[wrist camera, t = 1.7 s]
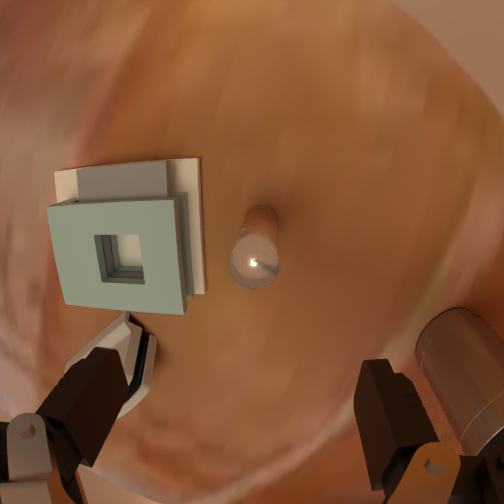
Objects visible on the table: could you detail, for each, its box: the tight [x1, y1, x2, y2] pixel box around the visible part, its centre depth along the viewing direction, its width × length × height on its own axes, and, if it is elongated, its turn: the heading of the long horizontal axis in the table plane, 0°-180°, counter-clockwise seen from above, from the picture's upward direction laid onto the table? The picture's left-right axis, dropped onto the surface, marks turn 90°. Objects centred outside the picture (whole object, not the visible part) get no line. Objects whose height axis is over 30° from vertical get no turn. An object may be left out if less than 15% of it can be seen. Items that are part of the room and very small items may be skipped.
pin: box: [229, 206, 279, 289], centre depth 24 cm, size 3×3×11 cm
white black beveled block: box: [65, 311, 157, 419], centre depth 33 cm, size 17×5×10 cm, turn 129°
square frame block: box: [47, 158, 206, 315], centre depth 28 cm, size 16×13×5 cm
